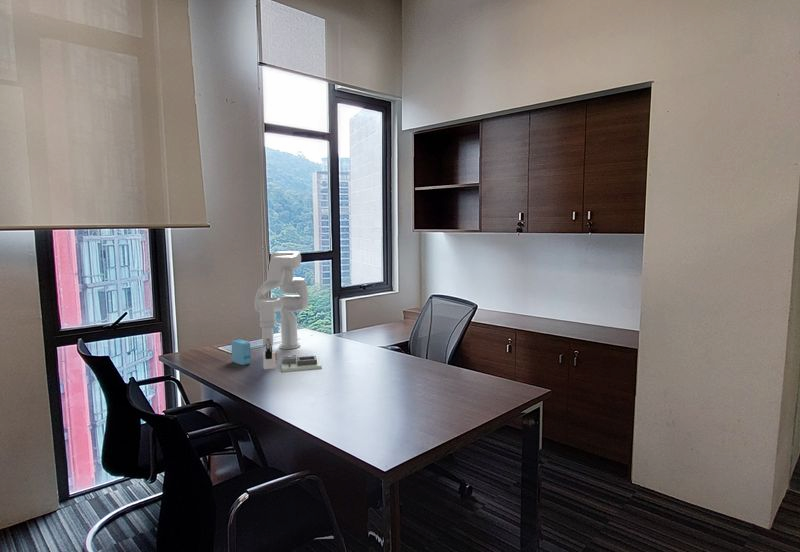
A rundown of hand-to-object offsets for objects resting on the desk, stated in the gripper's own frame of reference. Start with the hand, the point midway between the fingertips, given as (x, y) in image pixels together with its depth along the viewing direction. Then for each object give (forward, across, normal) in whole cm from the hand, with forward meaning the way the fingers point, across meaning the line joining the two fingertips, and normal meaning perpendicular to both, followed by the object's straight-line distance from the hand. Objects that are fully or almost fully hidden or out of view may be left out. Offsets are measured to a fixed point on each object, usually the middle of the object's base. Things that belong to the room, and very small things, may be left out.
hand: (269, 356), depth 248 cm
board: (+6, 0, +16) cm, 17 cm away
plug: (+6, -1, 0) cm, 6 cm away
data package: (+6, -15, -15) cm, 22 cm away
